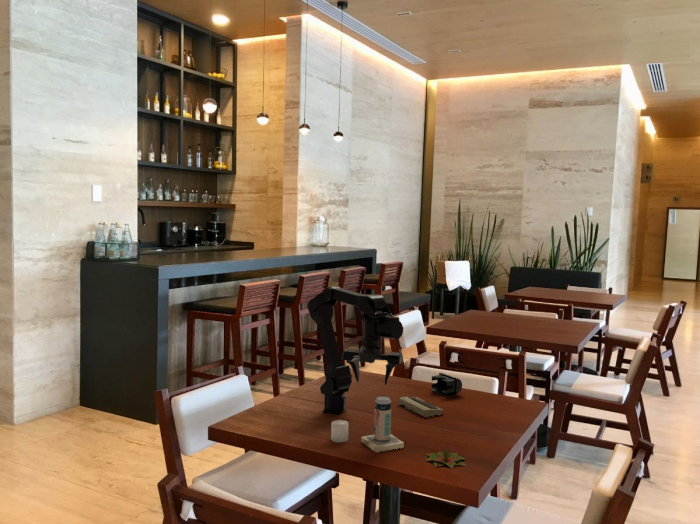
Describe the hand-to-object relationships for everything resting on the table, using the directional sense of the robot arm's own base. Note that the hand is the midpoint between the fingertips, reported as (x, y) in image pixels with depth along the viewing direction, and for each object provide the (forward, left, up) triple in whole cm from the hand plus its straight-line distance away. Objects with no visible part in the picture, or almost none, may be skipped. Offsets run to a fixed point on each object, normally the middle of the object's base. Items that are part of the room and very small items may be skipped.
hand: (371, 383), depth 193 cm
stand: (+8, -17, -13) cm, 23 cm away
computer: (+12, +20, -14) cm, 27 cm away
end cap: (+18, +43, -13) cm, 49 cm away
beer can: (+8, -17, -12) cm, 22 cm away
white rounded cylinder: (-5, -17, -13) cm, 22 cm away
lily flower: (+27, -22, -14) cm, 38 cm away
